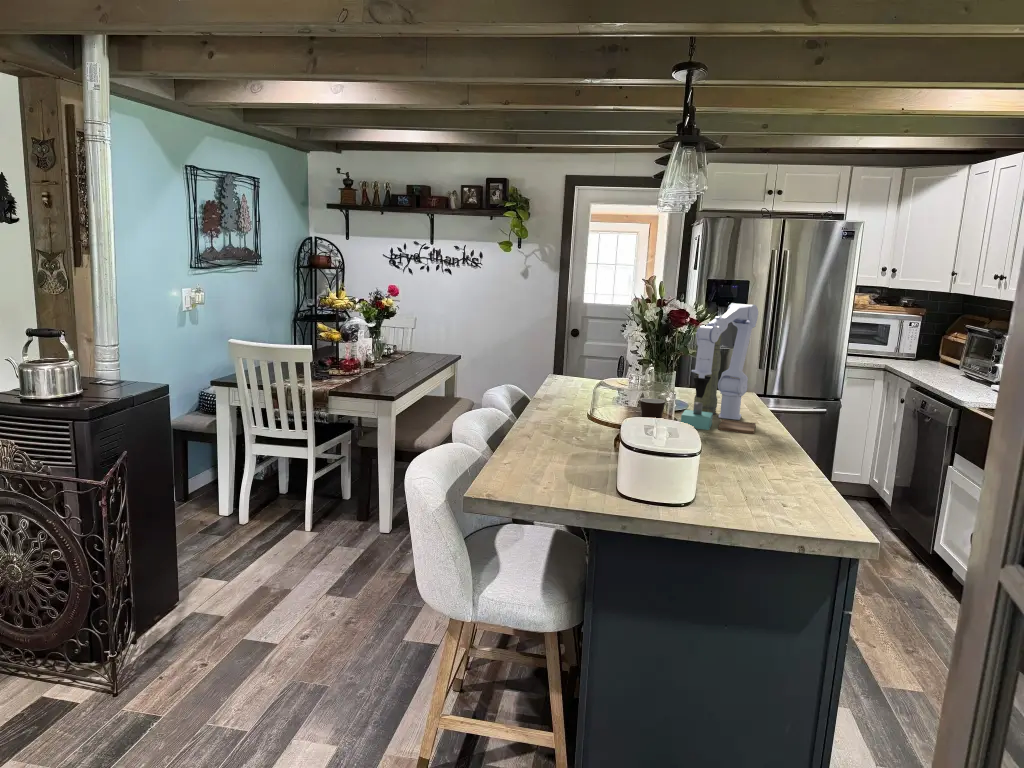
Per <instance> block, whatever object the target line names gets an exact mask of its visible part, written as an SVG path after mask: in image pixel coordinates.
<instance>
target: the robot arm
mask: <svg viewBox="0 0 1024 768" xmlns="http://www.w3.org/2000/svg"><path fill="white" fill-rule="evenodd" d="M758 318H759V310H758V307H757V305H756V304H747V303H746V304H745V303H735V302H731V303H730V304H729V305H728V307H727V311H726V312H724V314H723V315H722V316H719V315H718V316H717V315H716V316H715V317H714V318H713V319H712V320H711V321H709V322H708V323H707V324H705V325H706V326H705V325H701V326H699V327H700V328H699V327H698V328H699V329H698V328H697V331H696V332H695V338H696V346H697V351H696V358H695V359H696V360H695V368H694V369H691V373H693V374H697V375H694V377H693V378H692V379H693V381H694V384H695V395H696V397H699V398H702V397H703V395H704V393H705V389H706V386H707V384H708V382H709V380H710V378H711V376H706V375H711V374H712V372H711V370H712V362H713V354H714V346H715V342H717V341H718V339H719V336H720V335H721V336H722V334H721V333H724V332H725V331H726V330H727V329H728V327H729V324H730V323H732V325H733V326H735V327H736V328H737V331H736V337H735V341H734V344H733V345H734V346H733V349H732V352H731V353H732V354H731V358H730V363H729V366H728V369H726V370H724V371H723V372H721V376H720V379H719V378H718V383H717V390H718V391H719V392H720V395H721V402H720V413H719V414H718V416H717V417H718V418H720V419H724V420H733V421H740V420H741V418H742V414H741V405H742V397H743V396H744V395H745V394H746V393H747V390H748V383H749V382H748V381H749V377H748V376H747V374H745V372H744V370H743V369H744V366H745V362H746V357H747V353H748V349H749V343H750V339H751V335H752V331H753V329H754V328H755V327H756V326H757V321H758ZM698 374H699V376H698Z"/></svg>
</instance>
